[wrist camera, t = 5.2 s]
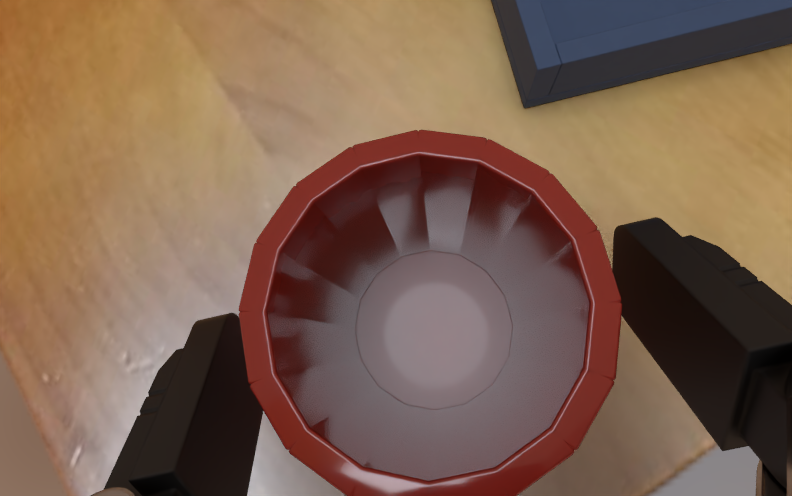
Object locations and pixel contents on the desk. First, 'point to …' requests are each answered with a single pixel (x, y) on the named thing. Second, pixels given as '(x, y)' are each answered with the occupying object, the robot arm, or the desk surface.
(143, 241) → the desk surface
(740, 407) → the robot arm
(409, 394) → the red cup
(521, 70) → the blue tray
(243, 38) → the desk surface
